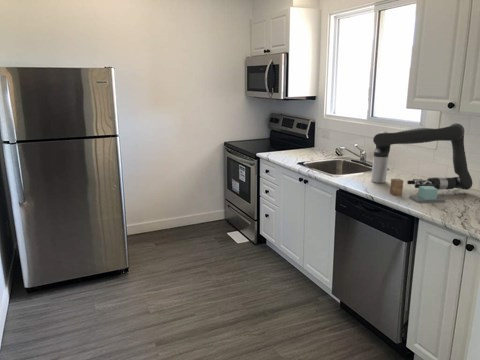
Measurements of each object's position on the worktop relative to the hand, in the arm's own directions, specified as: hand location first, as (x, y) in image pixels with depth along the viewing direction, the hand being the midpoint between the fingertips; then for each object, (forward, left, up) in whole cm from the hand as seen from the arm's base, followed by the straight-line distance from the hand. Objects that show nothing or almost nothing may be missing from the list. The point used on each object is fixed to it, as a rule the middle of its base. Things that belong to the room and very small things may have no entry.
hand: (411, 184), depth 230 cm
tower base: (+12, +3, -6) cm, 14 cm away
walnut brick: (0, -9, -6) cm, 11 cm away
